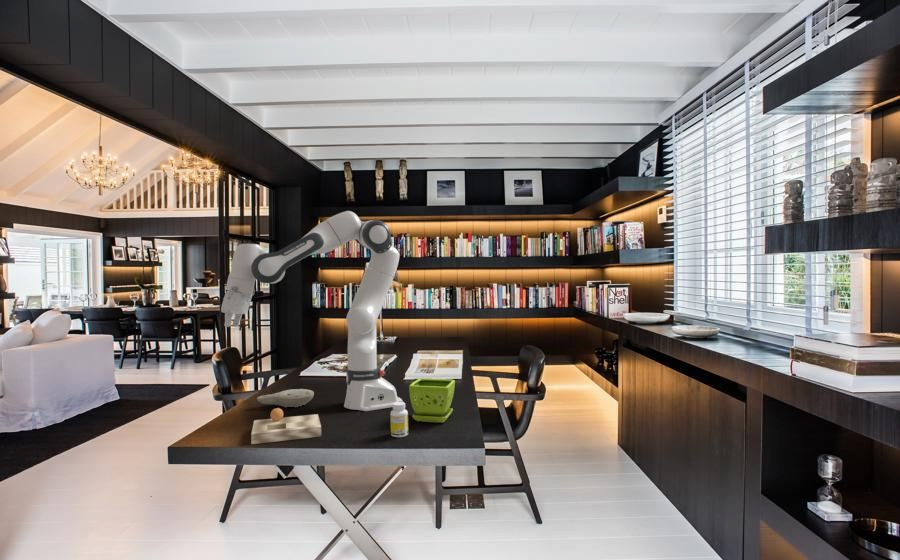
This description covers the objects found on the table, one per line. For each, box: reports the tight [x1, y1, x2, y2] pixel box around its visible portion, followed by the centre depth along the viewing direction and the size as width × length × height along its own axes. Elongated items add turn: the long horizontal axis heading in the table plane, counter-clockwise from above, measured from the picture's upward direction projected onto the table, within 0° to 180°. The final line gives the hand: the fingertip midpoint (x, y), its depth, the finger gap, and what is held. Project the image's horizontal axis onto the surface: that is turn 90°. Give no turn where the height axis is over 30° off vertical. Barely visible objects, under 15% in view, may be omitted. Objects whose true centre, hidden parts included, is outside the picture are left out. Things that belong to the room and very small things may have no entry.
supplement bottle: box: [390, 401, 409, 438], centre depth 148 cm, size 5×5×10 cm
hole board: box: [250, 413, 322, 445], centre depth 151 cm, size 20×15×3 cm
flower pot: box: [408, 378, 456, 424], centre depth 165 cm, size 14×14×13 cm
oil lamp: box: [256, 388, 315, 408], centre depth 184 cm, size 21×14×5 cm
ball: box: [269, 407, 284, 421], centre depth 154 cm, size 4×4×4 cm
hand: (231, 326), depth 167 cm, fingers open, 8 cm apart
